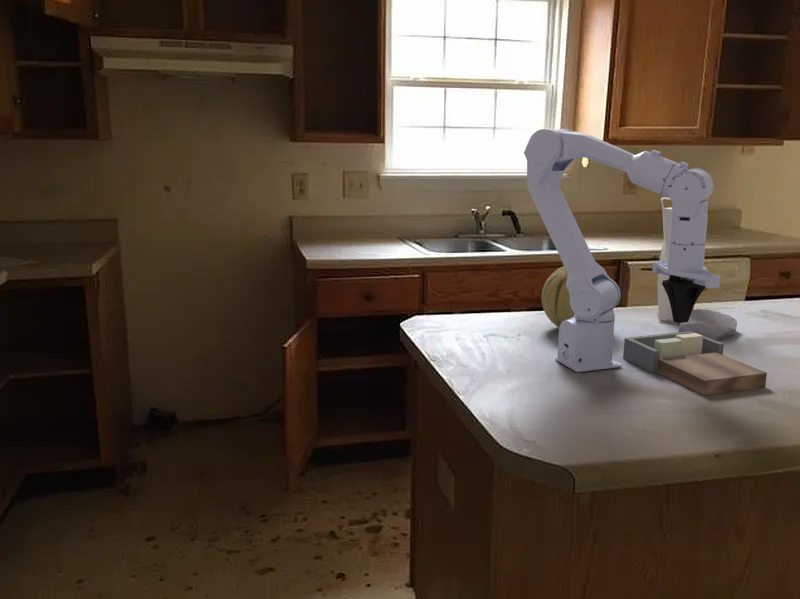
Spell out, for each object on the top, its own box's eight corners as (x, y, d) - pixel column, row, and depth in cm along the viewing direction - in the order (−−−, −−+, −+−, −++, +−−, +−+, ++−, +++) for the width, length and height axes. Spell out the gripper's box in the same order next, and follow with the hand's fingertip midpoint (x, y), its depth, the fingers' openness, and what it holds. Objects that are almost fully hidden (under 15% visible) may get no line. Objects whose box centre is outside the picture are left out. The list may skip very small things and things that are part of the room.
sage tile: (661, 343, 130) (654, 340, 131) (659, 366, 131) (652, 363, 132) (682, 340, 131) (675, 337, 133) (680, 364, 132) (673, 361, 134)
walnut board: (703, 395, 118) (705, 380, 118) (657, 372, 129) (658, 359, 129) (765, 386, 122) (766, 372, 121) (715, 365, 133) (716, 352, 132)
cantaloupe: (606, 323, 162) (610, 257, 159) (613, 341, 148) (618, 269, 145) (539, 320, 165) (542, 255, 161) (540, 338, 151) (543, 267, 147)
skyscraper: (652, 323, 162) (662, 198, 156) (650, 314, 170) (659, 195, 164) (692, 326, 160) (704, 199, 154) (688, 317, 168) (699, 196, 162)
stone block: (736, 338, 156) (690, 322, 162) (743, 318, 155) (696, 303, 160) (721, 354, 147) (673, 336, 153) (728, 332, 146) (679, 315, 151)
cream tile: (682, 337, 133) (675, 334, 135) (680, 361, 134) (673, 357, 136) (703, 335, 134) (696, 333, 136) (700, 358, 135) (693, 355, 137)
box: (652, 372, 129) (654, 351, 128) (623, 358, 137) (624, 337, 136) (721, 364, 133) (723, 343, 132) (689, 350, 142) (690, 331, 141)
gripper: (738, 247, 115) (730, 330, 118) (678, 235, 128) (672, 310, 131) (701, 250, 112) (694, 334, 116) (644, 237, 126) (639, 313, 129)
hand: (680, 321), depth 123 cm, fingers closed
